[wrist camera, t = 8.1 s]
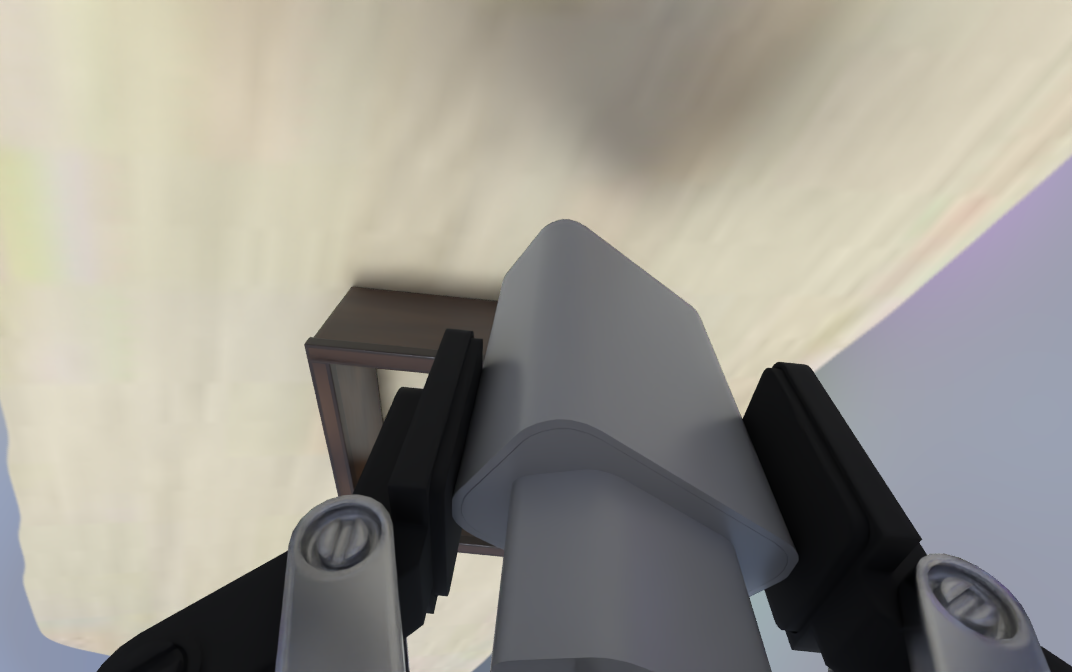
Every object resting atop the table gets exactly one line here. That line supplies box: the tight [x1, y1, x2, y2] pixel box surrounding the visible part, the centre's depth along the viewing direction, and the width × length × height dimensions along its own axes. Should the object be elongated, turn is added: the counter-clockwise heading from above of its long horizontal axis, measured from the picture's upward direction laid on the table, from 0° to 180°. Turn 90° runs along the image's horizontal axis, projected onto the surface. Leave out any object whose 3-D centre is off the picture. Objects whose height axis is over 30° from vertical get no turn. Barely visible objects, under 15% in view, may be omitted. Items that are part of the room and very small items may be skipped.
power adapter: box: [452, 219, 799, 672], centre depth 9 cm, size 3×5×12 cm, turn 53°
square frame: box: [305, 287, 504, 557], centre depth 28 cm, size 15×16×6 cm
